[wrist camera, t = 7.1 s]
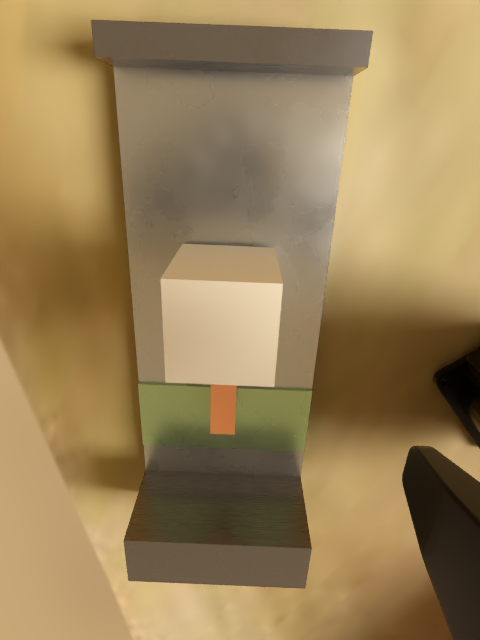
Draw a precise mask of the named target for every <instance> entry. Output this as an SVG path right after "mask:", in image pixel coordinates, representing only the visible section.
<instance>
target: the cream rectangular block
mask: <svg viewBox="0 0 480 640" xmlns="http://www.w3.org/2000/svg"><path fill="white" fill-rule="evenodd" d="M282 291H283V281H282V277H281V273H280V269H279V264H278V260H277V256H276V252H275V248H274V247H252V246H227V245H203V244H182V245H181V247H180V249H179V250H178V252H177V253H176V255H175V257H174V258H173V260H172V261H171V263H170V265H169V266H168V268H167V269H166V271H165V272H164V274H163V276H162V277H161V299H162V320H163V341H164V362H165V382H166V383H190V384H211V408H210V434H230V435H235V418H236V393H237V385H238V386H262V387H274V384H275V373H276V361H277V349H278V338H279V326H280V314H281V302H282Z"/></svg>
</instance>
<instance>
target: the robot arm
mask: <svg viewBox="0 0 480 640" xmlns="http://www.w3.org/2000/svg"><path fill="white" fill-rule="evenodd" d="M444 378H447V380H446V381H443V382H441V381H442V380H443V379H444ZM433 380H434V383H435V384H436V386H437V387H438V389H439V390H440V392H441V393H442V395H443V396H444V397H445V399H446V400H447V402H448V403H449V405H450V406H451V408H452V409H453V411H454V412H455V414H456V415H457V416H458V418H459V419H460V421H461V422H462V424H463V425H464V427H465V428H466V430H467V431H468V433H469V434H470V435H471V437H472V438H473V440H474V441H475V443H476V444H477V446H478V447H479V448H480V348H479V349H477V350H475V351H473V352H472V353H470V354H468V355H466V356H464V357H463V358H461V359H459V360H457V361H456V362H454V363H452V364H450V365H449V366H447V367H445V368H443V369H441V370H440V371H438V372H437V373H436V374H435V375H434V378H433ZM402 482H403V487H404V491H405V495H406V499H407V502H408V506H409V510H410V514H411V517H412V521H413V525H414V529H415V532H416V536H417V540H418V544H419V547H420V551H421V554H422V558H423V560H424V563H425V566H426V569H427V572H428V574H429V577H430V580H431V582H432V585H433V588H434V590H435V593H436V595H437V598H438V601H439V603H440V606H441V609H442V611H443V614H444V617H445V619H446V622H447V624H448V627H449V630H450V632H451V635H452V638H453V640H480V482H479V481H477V480H476V479H475V478H473V477H472V476H471V475H469V474H468V473H467V472H465V471H464V470H463V469H461V468H460V467H458V466H457V465H456V464H454V463H453V462H452V461H450V460H449V459H448V458H446V457H445V456H444V455H442V454H441V453H440V452H438V451H437V450H436V449H434V448H433V447H430V446H412V447H411V448H410V450H409V453H408V456H407V460H406V464H405V467H404V471H403V476H402Z"/></svg>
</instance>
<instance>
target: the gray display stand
mask: <svg viewBox="0 0 480 640" xmlns="http://www.w3.org/2000/svg"><path fill="white" fill-rule="evenodd" d="M91 24H92V34H93V45H94V55H95V57H96V58H98V59H100V60H102V61H104V62H105V63H107V64H109V65H111V66H113V69H114V81H115V94H116V106H117V119H118V131H119V144H120V156H121V169H122V181H123V194H124V206H125V219H126V231H127V244H128V256H129V268H130V281H131V293H132V306H133V318H134V331H135V343H136V356H137V368H138V381H139V383H138V392H139V404H140V417H141V429H142V441H143V445H144V456H145V468H146V470H145V473H144V477H143V480H142V483H141V486H140V490H139V493H138V496H137V499H136V502H135V506H134V509H133V512H132V515H131V519H130V522H129V525H128V528H127V531H126V535H125V538H124V548H125V556H126V564H127V572H128V581H144V582H167V583H190V584H213V585H236V586H260V587H283V588H305V586H306V580H307V574H308V568H309V561H310V555H311V549H312V548H311V542H310V535H309V529H308V522H307V516H306V509H305V503H304V496H303V490H302V483H301V477H300V476H301V469H302V461H303V454H304V451H305V443H306V436H307V428H308V421H309V413H310V406H311V398H312V385H313V378H314V370H315V363H316V355H317V347H318V340H319V332H320V325H321V317H322V309H323V302H324V294H325V287H326V279H327V272H328V264H329V256H330V249H331V241H332V234H333V226H334V218H335V211H336V203H337V196H338V188H339V181H340V173H341V165H342V158H343V150H344V143H345V135H346V127H347V120H348V112H349V105H350V97H351V90H352V82H353V76H355V75H356V74H358V73H360V72H361V71H363V70H365V69H366V68H368V62H369V55H370V48H371V41H372V34H373V31H363V30H338V29H312V28H287V27H262V26H236V25H211V24H186V23H160V22H135V21H109V20H91ZM182 244H203V245H227V246H252V247H274V248H275V252H276V256H277V260H278V264H279V269H280V273H281V277H282V281H283V291H282V302H281V314H280V326H279V338H278V349H277V361H276V373H275V384H274V387H262V386H238V385H237V393H236V418H235V435H230V434H210V408H211V384H190V383H166V382H165V362H164V341H163V320H162V299H161V277H162V276H163V274H164V272H165V271H166V269H167V268H168V266H169V265H170V263H171V261H172V260H173V258H174V257H175V255H176V253H177V252H178V250H179V249H180V247H181V245H182Z"/></svg>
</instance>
